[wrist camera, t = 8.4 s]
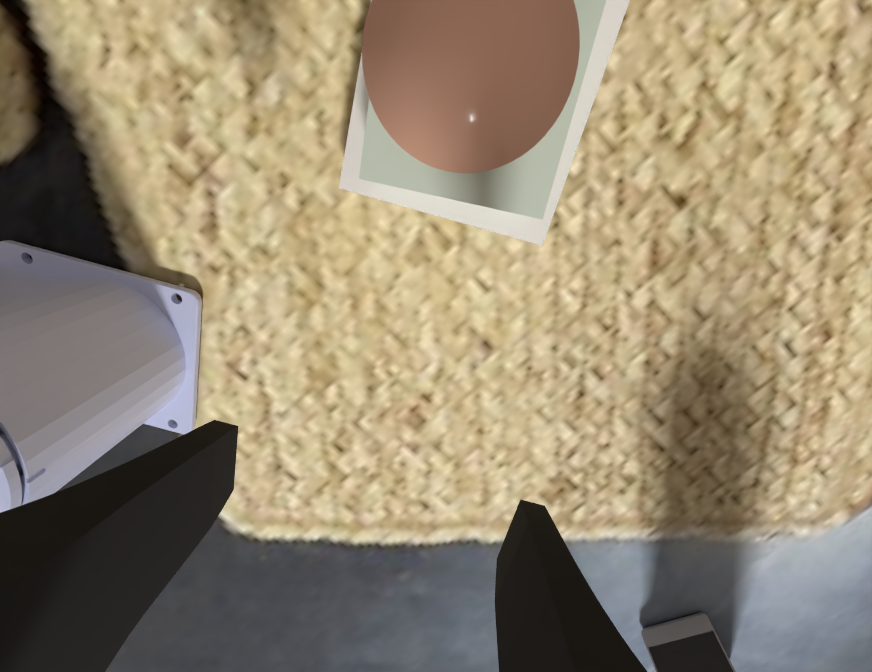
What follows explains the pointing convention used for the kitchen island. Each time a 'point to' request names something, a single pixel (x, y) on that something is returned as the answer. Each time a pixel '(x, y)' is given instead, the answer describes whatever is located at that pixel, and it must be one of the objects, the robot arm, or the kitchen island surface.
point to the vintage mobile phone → (686, 646)
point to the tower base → (476, 214)
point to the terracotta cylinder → (469, 76)
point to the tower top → (498, 188)
